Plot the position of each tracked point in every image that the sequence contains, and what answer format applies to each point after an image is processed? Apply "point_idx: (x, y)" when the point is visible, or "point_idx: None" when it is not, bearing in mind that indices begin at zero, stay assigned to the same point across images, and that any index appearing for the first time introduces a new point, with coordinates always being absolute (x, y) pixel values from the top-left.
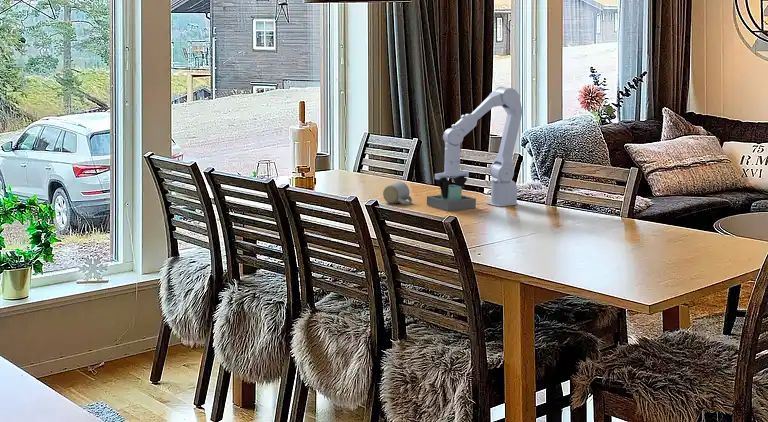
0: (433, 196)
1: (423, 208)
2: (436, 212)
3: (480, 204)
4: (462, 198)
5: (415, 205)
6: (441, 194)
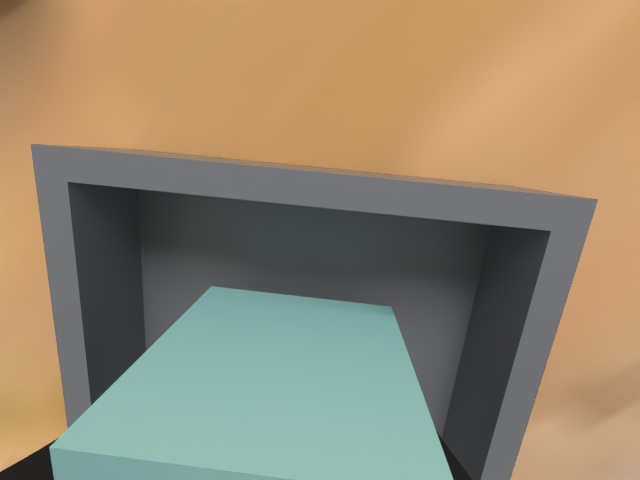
0: (140, 187)
1: (19, 248)
2: (37, 431)
3: (619, 418)
4: (482, 392)
5: (19, 65)
6: (173, 334)
